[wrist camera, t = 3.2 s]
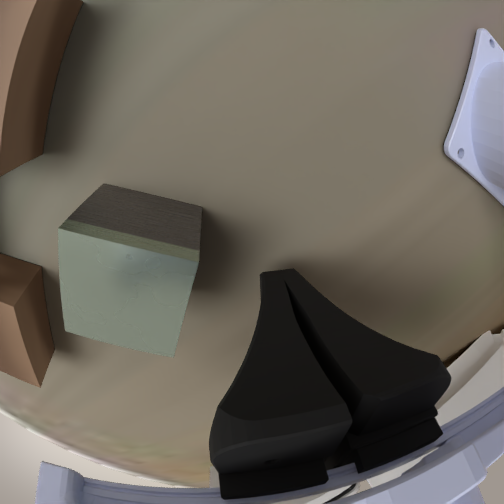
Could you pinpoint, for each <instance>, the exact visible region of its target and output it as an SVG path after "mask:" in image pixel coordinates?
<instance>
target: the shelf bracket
mask: <svg viewBox="0 0 504 504" xmlns="http://www.w3.org/2000/svg"><path fill="white" fill-rule="evenodd" d="M446 369H447V370H448V372H449V373H450V375H451V378H452V379H451V382H450V386H449V387H448V389H447V390H446V392H445V393H444V394H443V396H442V397H441V398H440V399H439V401H438V402H437V403H436V404H435V405H434V406H435V407H436V409H437V411H438V415H437V416H436V417H435V418H436V420H437V422H438V424H439V426H442V425H444V424H446V423H448V422H449V421H451V420H453V419H455V418H457V417H458V416H460V415H462V414H463V413H465V412H467V411H468V410H470V409H472V408H473V407H475V406H476V405H478V404H479V403H481V402H482V401H484V400H485V399H487V398H488V397H490V396H491V395H493V394H494V393H496V392H497V391H498V390H500V389H501V388H502V387H504V329H502V331H501V333H500V334H491V331H487V332H486V333H484V334H482V335H481V336H480V337H479V338H478V339H477V340H476V341H475V342H474V343H473V344H472V345H471V346H470V347H469V348H468V349H467V350H466V351H465V352H464V353H463V354H462V355H461V356H460V357H459V358H458V359H456V360H455V361H454V362H453V363H452V364H451V365H450V366H449V367H448V368H446ZM438 448H439V447H438ZM438 448H437V449H438ZM435 450H436V449H435ZM435 450H433V451H435ZM433 451H431V452H433ZM431 452H429V453H427V454H425V455H423V456H421V457H419V458H417V459H415V460H413V461H411V462H408V463H406V464H404V465H402V466H400V467H397V468H395V469H393V470H390V471H388V472H385V473H383V474H380V475H378V476H375V477H372V478H369V479H367V482H368V483H369V485H370V486H371V488H373V487H376V486H378V485H381V484H383V483H386V482H388V481H391V480H393V479H395V478H398V477H400V476H401V475H402V473H403V472H405V471H407V470H408V469H410V468H411V467H413V466H414V465H416V464H417V463H418V462H420V460H421V459H422V458H423V457H425V456H426V455H428V454H430V453H431Z"/></svg>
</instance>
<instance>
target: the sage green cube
mask: <svg viewBox="0 0 504 504" xmlns="http://www.w3.org/2000/svg"><path fill="white" fill-rule="evenodd" d="M201 218H202V207H201V206H197V205H193V204H189V203H185V202H180V201H176V200H172V199H168V198H164V197H160V196H156V195H151V194H147V193H143V192H139V191H134V190H130V189H126V188H121V187H117V186H112V185H108V184H103V185H101V186H100V187H99V188H98V189H97V190H96V191H95V192H94V193H93V194H92V195H91V196H90V197H89V198H88V199H86V200H85V201H84V202H83V203H82V204H81V205H80V206H79V207H78V208H77V209H76V210H75V211H74V212H73V213H72V214H71V215H70V216H69V217H68V218H67V220H66V221H65V222H64V223H63V224H62V225H61V226H60V227H59V228H58V259H59V278H60V291H61V302H62V311H63V319H64V326H65V331H67V332H70V333H73V334H77V335H80V336H83V337H87V338H90V339H94V340H98V341H101V342H105V343H109V344H113V345H117V346H121V347H125V348H130V349H134V350H139V351H143V352H148V353H153V354H158V355H163V356H168V357H173V358H174V354H175V350H176V346H177V342H178V338H179V334H180V330H181V326H182V322H183V319H184V315H185V311H186V307H187V303H188V300H189V296H190V292H191V289H192V285H193V282H194V278H195V274H196V271H197V267H198V264H199V251H200V234H201Z"/></svg>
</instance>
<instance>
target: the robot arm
mask: <svg viewBox="0 0 504 504" xmlns="http://www.w3.org/2000/svg"><path fill="white" fill-rule="evenodd" d="M458 150H459V153H458ZM444 151H445V154H446V155H447V156H448V157H449V158H450V159H452V160H453V161H454V162H455V163H457V164H458V165H459V166H460V167H461V168H463V169H464V170H465V171H466V172H467V173H469V174H470V175H471V176H472V177H473V178H474V179H475V180H477V181H478V182H479V183H480V184H481V185H482V186H483V187H484V188H485V189H486V190H487V191H488V192H489V193H491V194H492V195H493V196H494V197H495V198H496V199H497V200H498V201H499V202H500V203H501V204H502V205H503V206H504V51H503V50H502V48H501V47H500V46H499V44H498V43H497V42H496V41H495V39H494V38H493V37H492V36H491V35H490V33H489V32H488V31H487V30H486V29H483V28H481V29H478V30H477V33H476V38H475V43H474V48H473V52H472V56H471V61H470V65H469V69H468V72H467V76H466V80H465V83H464V87H463V90H462V94H461V97H460V100H459V103H458V106H457V109H456V112H455V115H454V118H453V121H452V124H451V127H450V129H449V132H448V135H447V137H446V140H445V143H444ZM260 289H261V306H260V311H259V316H258V320H257V325H256V328H255V332H254V335H253V338H252V341H251V344H250V346H249V349H248V351H247V354H246V356H245V359H244V361H243V363H242V365H241V367H240V369H239V371H238V373H237V375H236V377H235V379H234V381H233V383H232V384H231V386H230V388H229V389H228V391H227V393H226V394H225V396H224V397H223V399H222V400H221V402H220V403H219V405H218V407H217V411H216V414H215V417H214V420H213V424H212V427H211V432H210V437H209V450H210V459H211V463H212V464H213V466H214V467H215V469H216V470H217V472H218V475H219V485H220V487H216V488H163V487H148V486H137V485H128V484H121V483H114V482H107V481H101V480H96V479H90V478H86V477H83V476H82V475H81V474H79V473H78V472H76V471H74V470H71V469H69V468H66V467H61V466H58V465H54V464H51V463H47V462H44V461H42V462H41V464H40V470H39V476H38V483H37V491H36V499H35V504H270V503H277V502H283V501H288V500H294V499H299V498H303V497H308V496H312V495H316V494H320V493H324V492H328V491H332V490H335V489H339V488H342V487H346V486H349V485H352V484H355V483H358V482H361V481H364V480H367V479H369V478H372V477H375V476H378V475H380V474H383V473H385V472H388V471H390V470H393V469H395V468H397V467H400V466H402V465H404V464H406V463H408V462H411V461H413V460H415V459H417V458H419V457H421V456H423V455H425V454H427V453H429V452H431V451H433V450H435V449H436V450H435V451H433V452H431V453H430V454H428V455H426V456H425V457H423V458H422V459H421V460H420V462H418V463H417V464H416V465H414V466H413V467H411V468H410V469H408V470H407V471H405V472H403V473H402V475H401V476H400V477H398V478H395V479H393V480H391V481H388V482H386V483H383V484H381V485H378V486H376V487H373V488H371V489H368V490H365V491H362V492H360V493H357V494H354V495H351V496H348V497H345V498H342V499H339V500H336V501H332V502H329V503H326V504H485V502H484V500H483V497H482V495H481V493H480V490H479V487H478V484H479V483H481V482H482V481H483V480H484V479H485V477H486V475H487V470H486V469H487V468H488V467H489V466H490V465H492V464H493V463H494V462H495V461H496V460H497V459H498V458H499V457H500V456H502V454H504V387H502V388H501V389H500V390H498V391H497V392H496V393H494V394H493V395H491V396H490V397H488V398H487V399H485V400H484V401H482V402H481V403H479V404H478V405H476V406H475V407H473V408H472V409H470V410H468V411H467V412H465V413H463V414H462V415H460V416H458V417H457V418H455V419H453V420H451V421H449V422H448V423H446V424H444V425H442V426H439V424H438V422H437V420H436V418H435V417H436V416H437V415H438V411H437V409H436V407H435V406H434V405H435V404H436V403H437V402H438V401H439V399H440V398H441V397H442V396H443V394H444V393H445V392H446V390H447V389H448V387H449V386H450V382H451V379H452V378H451V375H450V373H449V372H448V370H447V369H446V367H445V366H444V364H443V362H442V361H441V359H440V358H439V357H438V356H437V355H434V354H431V353H427V352H424V351H421V350H418V349H414V348H412V347H409V346H406V345H404V344H401V343H399V342H396V341H394V340H392V339H390V338H387V337H385V336H383V335H381V334H379V333H377V332H376V331H374V330H372V329H370V328H368V327H366V326H365V325H363V324H361V323H360V322H358V321H357V320H355V319H353V318H352V317H350V316H349V315H347V314H346V313H344V312H343V311H342V310H340V309H339V308H338V307H336V306H335V305H334V304H333V303H331V302H330V301H329V300H328V299H327V298H325V297H324V296H323V295H322V294H321V293H320V292H318V291H317V290H316V289H315V288H314V287H313V286H312V285H311V284H310V283H309V282H308V281H306V280H305V279H304V278H303V277H302V276H301V275H300V274H299V273H298V272H297V271H296V270H295V269H294V268H293V269H285V270H277V271H268V272H262V273H261V274H260ZM438 447H439V448H438ZM437 448H438V449H437Z"/></svg>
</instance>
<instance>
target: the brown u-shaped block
mask: <svg viewBox="0 0 504 504" xmlns="http://www.w3.org/2000/svg"><path fill="white" fill-rule="evenodd" d="M82 4H83V1H81V0H0V176H2V175H4V174H6V173H7V172H9V171H11V170H13V169H15V168H17V167H18V166H20V165H22V164H24V163H26V162H28V161H30V160H32V159H34V158H36V157H38V156H40V155H43V147H44V139H45V132H46V126H47V120H48V114H49V109H50V104H51V99H52V95H53V91H54V86H55V82H56V78H57V75H58V71H59V67H60V64H61V60H62V57H63V54H64V51H65V48H66V45H67V42H68V39H69V36H70V33H71V31H72V28H73V25H74V23H75V20H76V18H77V15H78V13H79V10H80V8H81V6H82ZM54 350H55V348H54V344H53V339H52V335H51V330H50V325H49V319H48V313H47V307H46V301H45V294H44V286H43V277H42V267H41V266H38V265H35V264H32V263H28V262H25V261H22V260H19V259H16V258H13V257H10V256H7V255H4V254H1V253H0V371H2V372H5V373H7V374H9V375H11V376H13V377H16V378H18V379H20V380H23V381H25V382H27V383H30V384H32V385H35V386H37V387H40V388H41V385H42V382H43V379H44V376H45V373H46V371H47V368H48V365H49V363H50V360H51V358H52V355H53V353H54Z"/></svg>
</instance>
